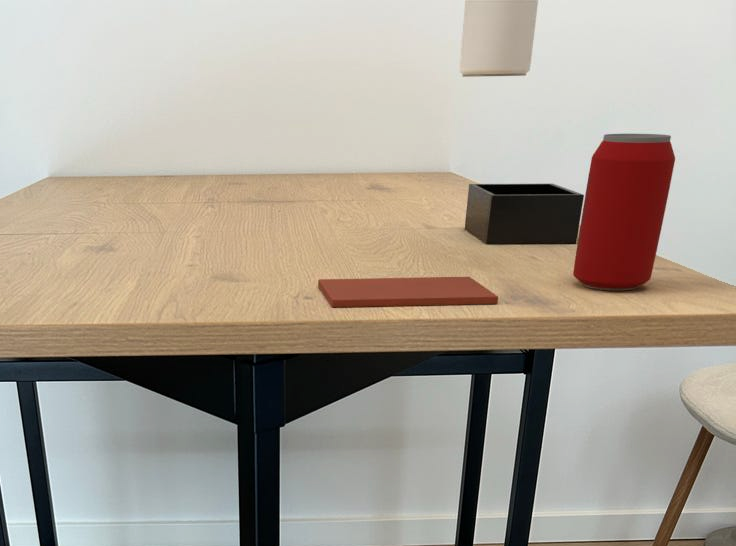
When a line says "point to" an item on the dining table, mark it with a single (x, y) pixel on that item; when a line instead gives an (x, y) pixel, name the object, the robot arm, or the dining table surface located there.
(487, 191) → the box
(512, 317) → the dining table surface
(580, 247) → the beverage can
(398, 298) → the mat
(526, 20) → the can
